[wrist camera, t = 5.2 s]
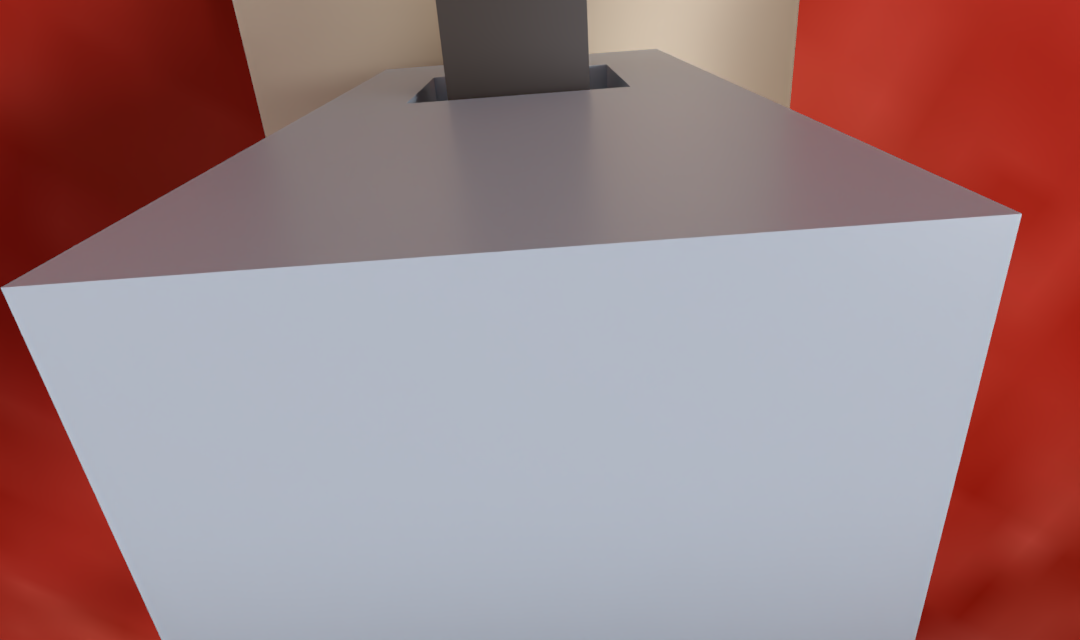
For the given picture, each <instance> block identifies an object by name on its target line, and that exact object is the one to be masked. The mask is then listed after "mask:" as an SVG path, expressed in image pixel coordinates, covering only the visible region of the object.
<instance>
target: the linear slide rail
mask: <svg viewBox="0 0 1080 640" xmlns="http://www.w3.org/2000/svg"><path fill="white" fill-rule="evenodd" d="M232 1H233V5H234V10H235V14H236V18H237V22H238V26H239V30H240V34H241V38H242V42H243V46H244V51H245V55H246V59H247V63H248V67H249V71H250V75H251V79H252V83H253V87H254V92H255V96H256V100H257V104H258V108H259V112H260V116H261V120H262V124H263V128H264V133H265V137H268V136H270V135H271V134H273V133H275V132H277V131H278V130H280V129H282V128H284V127H285V126H287V125H289V124H291V123H293V122H294V121H296V120H298V119H300V118H301V117H303V116H305V115H307V114H308V113H310V112H312V111H314V110H315V109H317V108H319V107H321V106H323V105H324V104H326V103H328V102H330V101H331V100H333V99H335V98H337V97H338V96H340V95H342V94H344V93H346V92H347V91H349V90H351V89H353V88H354V87H356V86H358V85H360V84H361V83H363V82H365V81H367V80H369V79H370V78H372V77H374V76H376V75H377V74H379V73H381V72H383V71H384V70H386V69H398V68H411V67H424V66H437V65H444V73H445V81H446V89H447V97H448V100H461V99H474V98H487V97H500V96H514V95H527V94H540V93H553V92H566V91H580V90H590V76H589V54H594V53H607V52H620V51H633V50H646V49H658V50H660V51H663V52H665V53H667V54H669V55H671V56H674V57H676V58H678V59H680V60H683V61H685V62H687V63H689V64H691V65H694V66H696V67H698V68H700V69H702V70H705V71H707V72H709V73H711V74H714V75H716V76H718V77H720V78H722V79H725V80H727V81H729V82H731V83H733V84H736V85H738V86H740V87H742V88H745V89H747V90H749V91H751V92H753V93H756V94H758V95H760V96H762V97H764V98H767V99H769V100H771V101H773V102H776V103H778V104H780V105H782V106H784V107H787V108H789V109H790V99H791V88H792V77H793V65H794V54H795V43H796V32H797V20H798V9H799V0H232Z"/></svg>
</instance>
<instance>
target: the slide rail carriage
mask: <svg viewBox="0 0 1080 640" xmlns="http://www.w3.org/2000/svg"><path fill="white" fill-rule="evenodd" d="M589 76H590V90H580V91H566V92H553V93H540V94H527V95H514V96H500V97H487V98H474V99H461V100H448V97H447V89H446V81H445V73H444V65H437V66H424V67H411V68H398V69H386V70H384V71H383V72H381V73H379V74H377V75H376V76H374V77H372V78H370V79H369V80H367V81H365V82H363V83H361V84H360V85H358V86H356V87H354V88H353V89H351V90H349V91H347V92H346V93H344V94H342V95H340V96H338V97H337V98H335V99H333V100H331V101H330V102H328V103H326V104H324V105H323V106H321V107H319V108H317V109H315V110H314V111H312V112H310V113H308V114H307V115H305V116H303V117H301V118H300V119H298V120H296V121H294V122H293V123H291V124H289V125H287V126H285V127H284V128H282V129H280V130H278V131H277V132H275V133H273V134H271V135H270V136H268V137H266V138H264V139H262V140H261V141H259V142H257V143H255V144H254V145H252V146H250V147H248V148H247V149H245V150H243V151H241V152H239V153H238V154H236V155H234V156H232V157H231V158H229V159H227V160H225V161H224V162H222V163H220V164H218V165H216V166H215V167H213V168H211V169H209V170H208V171H206V172H204V173H202V174H201V175H199V176H197V177H195V178H194V179H192V180H190V181H188V182H186V183H185V184H183V185H181V186H179V187H178V188H176V189H174V190H172V191H171V192H169V193H167V194H165V195H163V196H162V197H160V198H158V199H156V200H155V201H153V202H151V203H149V204H148V205H146V206H144V207H142V208H140V209H139V210H137V211H135V212H133V213H132V214H130V215H128V216H126V217H125V218H123V219H121V220H119V221H118V222H116V223H114V224H112V225H110V226H109V227H107V228H105V229H103V230H102V231H100V232H98V233H96V234H95V235H93V236H91V237H89V238H87V239H86V240H84V241H82V242H80V243H79V244H77V245H75V246H73V247H72V248H70V249H68V250H66V251H64V252H63V253H61V254H59V255H57V256H56V257H54V258H52V259H50V260H49V261H47V262H45V263H43V264H41V265H40V266H38V267H36V268H34V269H33V270H31V271H29V272H27V273H26V274H24V275H22V276H20V277H19V278H17V279H15V280H13V281H11V282H10V283H8V284H6V285H4V286H3V287H1V290H2V292H3V294H4V296H5V299H6V301H7V303H8V305H9V307H10V310H11V312H12V314H13V316H14V318H15V321H16V323H17V325H18V327H19V329H20V331H21V334H22V336H23V338H24V340H25V342H26V345H27V347H28V349H29V351H30V353H31V356H32V358H33V360H34V362H35V364H36V366H37V369H38V371H39V373H40V375H41V377H42V380H43V382H44V384H45V386H46V388H47V391H48V393H49V395H50V397H51V399H52V401H53V404H54V406H55V408H56V410H57V412H58V415H59V417H60V419H61V421H62V423H63V426H64V428H65V430H66V432H67V434H68V436H69V439H70V441H71V443H72V445H73V447H74V450H75V452H76V454H77V456H78V458H79V461H80V463H81V465H82V467H83V469H84V471H85V474H86V476H87V478H88V480H89V482H90V485H91V487H92V489H93V491H94V493H95V496H96V498H97V500H98V502H99V504H100V506H101V509H102V511H103V513H104V515H105V517H106V520H107V522H108V524H109V526H110V528H111V531H112V533H113V535H114V537H115V539H116V541H117V544H118V546H119V548H120V550H121V552H122V555H123V557H124V559H125V561H126V563H127V566H128V568H129V570H130V572H131V574H132V577H133V579H134V581H135V583H136V585H137V587H138V590H139V592H140V594H141V596H142V598H143V601H144V603H145V605H146V607H147V609H148V612H149V614H150V616H151V618H152V620H153V622H154V625H155V627H156V629H157V631H158V633H159V636H160V638H161V640H915V638H916V634H917V630H918V626H919V622H920V618H921V614H922V610H923V606H924V602H925V598H926V594H927V590H928V586H929V582H930V578H931V574H932V570H933V566H934V562H935V558H936V554H937V550H938V546H939V542H940V538H941V534H942V530H943V526H944V522H945V518H946V514H947V510H948V506H949V502H950V498H951V494H952V490H953V486H954V482H955V478H956V474H957V470H958V467H959V463H960V459H961V455H962V451H963V447H964V443H965V439H966V435H967V431H968V427H969V423H970V419H971V415H972V411H973V407H974V403H975V399H976V395H977V391H978V387H979V383H980V379H981V375H982V371H983V367H984V363H985V359H986V355H987V351H988V347H989V343H990V339H991V335H992V331H993V327H994V323H995V319H996V315H997V311H998V307H999V303H1000V299H1001V295H1002V291H1003V287H1004V283H1005V279H1006V275H1007V271H1008V267H1009V263H1010V259H1011V255H1012V251H1013V247H1014V243H1015V239H1016V235H1017V231H1018V227H1019V223H1020V219H1021V215H1022V214H1021V213H1019V212H1017V211H1015V210H1013V209H1010V208H1008V207H1006V206H1004V205H1002V204H999V203H997V202H995V201H993V200H990V199H988V198H986V197H984V196H982V195H979V194H977V193H975V192H973V191H971V190H968V189H966V188H964V187H962V186H959V185H957V184H955V183H953V182H951V181H948V180H946V179H944V178H942V177H939V176H937V175H935V174H933V173H931V172H928V171H926V170H924V169H922V168H920V167H917V166H915V165H913V164H911V163H908V162H906V161H904V160H902V159H900V158H897V157H895V156H893V155H891V154H889V153H886V152H884V151H882V150H880V149H877V148H875V147H873V146H871V145H869V144H866V143H864V142H862V141H860V140H858V139H855V138H853V137H851V136H849V135H846V134H844V133H842V132H840V131H838V130H835V129H833V128H831V127H829V126H827V125H824V124H822V123H820V122H818V121H815V120H813V119H811V118H809V117H807V116H804V115H802V114H800V113H798V112H795V111H793V110H791V109H789V108H787V107H784V106H782V105H780V104H778V103H776V102H773V101H771V100H769V99H767V98H764V97H762V96H760V95H758V94H756V93H753V92H751V91H749V90H747V89H745V88H742V87H740V86H738V85H736V84H733V83H731V82H729V81H727V80H725V79H722V78H720V77H718V76H716V75H714V74H711V73H709V72H707V71H705V70H702V69H700V68H698V67H696V66H694V65H691V64H689V63H687V62H685V61H683V60H680V59H678V58H676V57H674V56H671V55H669V54H667V53H665V52H663V51H660V50H658V49H646V50H633V51H620V52H607V53H594V54H589Z"/></svg>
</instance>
